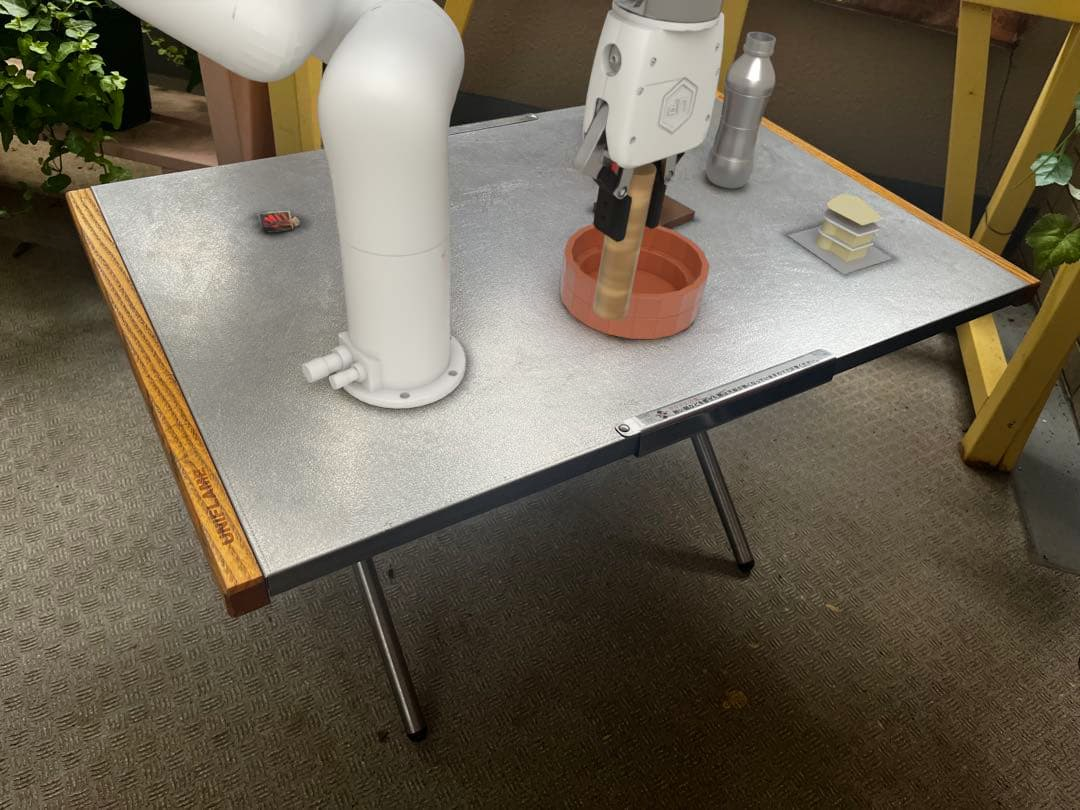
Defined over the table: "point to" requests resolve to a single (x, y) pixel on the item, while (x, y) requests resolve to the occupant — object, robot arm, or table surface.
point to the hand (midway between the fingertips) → (625, 225)
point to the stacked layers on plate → (845, 235)
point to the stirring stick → (624, 250)
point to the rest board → (672, 213)
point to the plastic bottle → (742, 112)
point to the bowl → (638, 283)
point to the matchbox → (277, 221)
